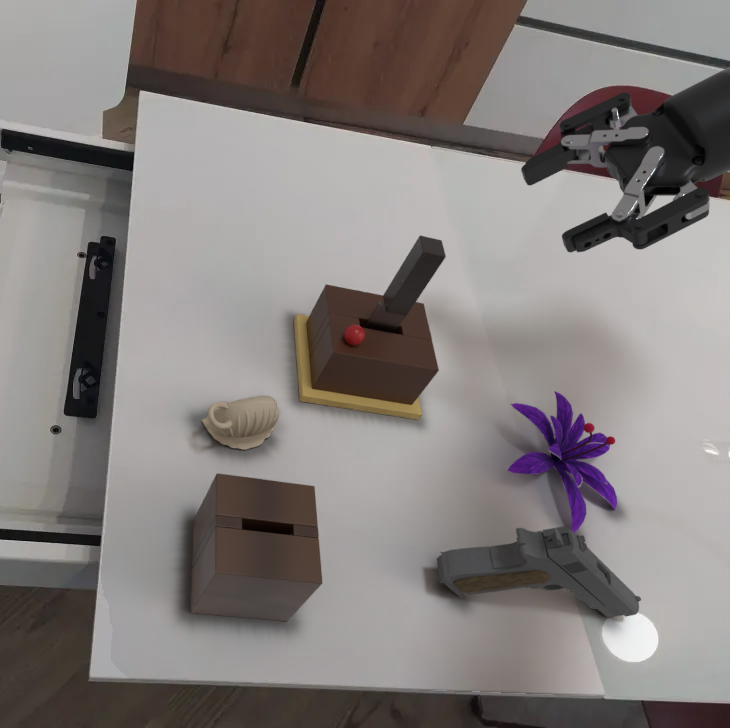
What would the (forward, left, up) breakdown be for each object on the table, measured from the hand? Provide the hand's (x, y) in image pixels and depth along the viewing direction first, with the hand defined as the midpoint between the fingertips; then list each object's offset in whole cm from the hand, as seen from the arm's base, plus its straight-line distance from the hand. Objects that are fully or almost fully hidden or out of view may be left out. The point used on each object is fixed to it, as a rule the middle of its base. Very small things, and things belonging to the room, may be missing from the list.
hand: (543, 209), depth 64 cm
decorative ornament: (+16, +18, -23) cm, 34 cm away
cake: (+7, +4, -23) cm, 25 cm away
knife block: (+11, +31, -23) cm, 40 cm away
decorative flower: (-16, +5, -23) cm, 29 cm away
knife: (+7, +4, -22) cm, 24 cm away
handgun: (-14, +21, -23) cm, 35 cm away
